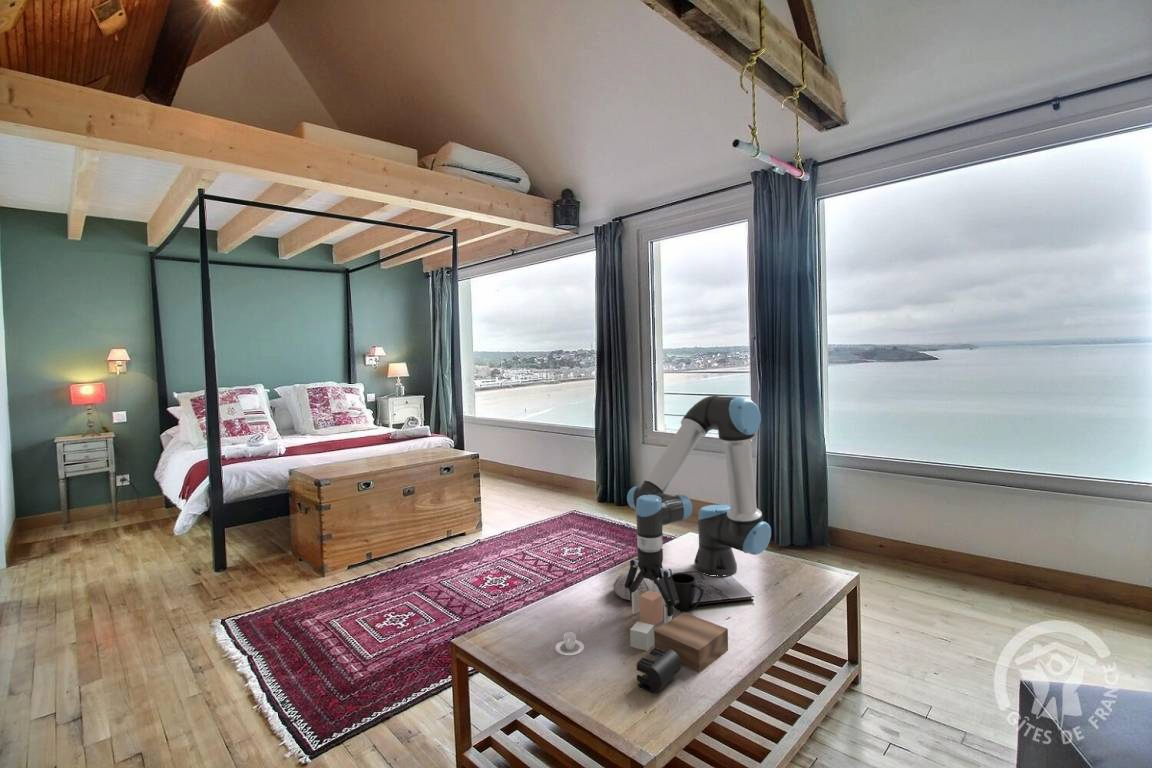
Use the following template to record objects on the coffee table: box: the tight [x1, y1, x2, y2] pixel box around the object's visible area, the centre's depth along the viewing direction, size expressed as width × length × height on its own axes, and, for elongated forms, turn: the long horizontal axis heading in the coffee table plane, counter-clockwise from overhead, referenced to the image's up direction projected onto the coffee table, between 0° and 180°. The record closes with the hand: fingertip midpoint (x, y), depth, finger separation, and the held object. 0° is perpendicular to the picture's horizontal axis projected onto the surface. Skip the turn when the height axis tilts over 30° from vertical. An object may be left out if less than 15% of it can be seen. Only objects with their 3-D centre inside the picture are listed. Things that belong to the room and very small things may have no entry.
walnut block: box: [654, 611, 729, 673], centre depth 149 cm, size 14×14×6 cm
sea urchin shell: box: [612, 569, 655, 602], centre depth 184 cm, size 13×14×8 cm
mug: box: [672, 572, 705, 613], centre depth 172 cm, size 8×12×10 cm
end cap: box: [636, 647, 682, 694], centre depth 136 cm, size 10×7×7 cm
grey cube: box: [629, 620, 655, 652], centre depth 154 cm, size 5×5×5 cm
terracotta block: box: [639, 590, 664, 627], centre depth 166 cm, size 5×5×8 cm
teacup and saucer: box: [554, 631, 585, 656], centre depth 153 cm, size 9×8×4 cm
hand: (651, 618), depth 166 cm, fingers open, 11 cm apart
